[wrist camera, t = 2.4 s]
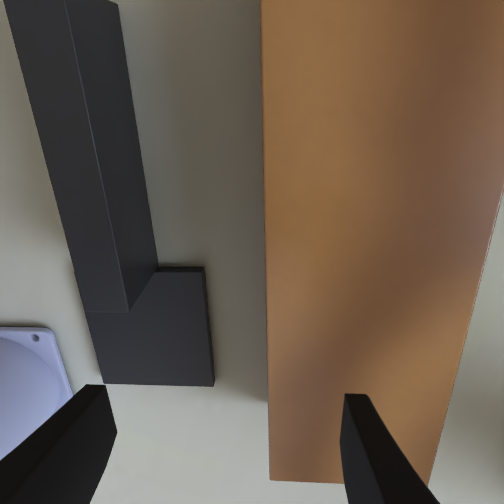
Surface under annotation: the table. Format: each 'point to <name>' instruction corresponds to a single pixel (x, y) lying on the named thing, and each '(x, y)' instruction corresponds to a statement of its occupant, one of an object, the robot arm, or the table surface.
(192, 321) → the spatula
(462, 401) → the table surface
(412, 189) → the wooden box
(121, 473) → the table surface
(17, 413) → the robot arm
